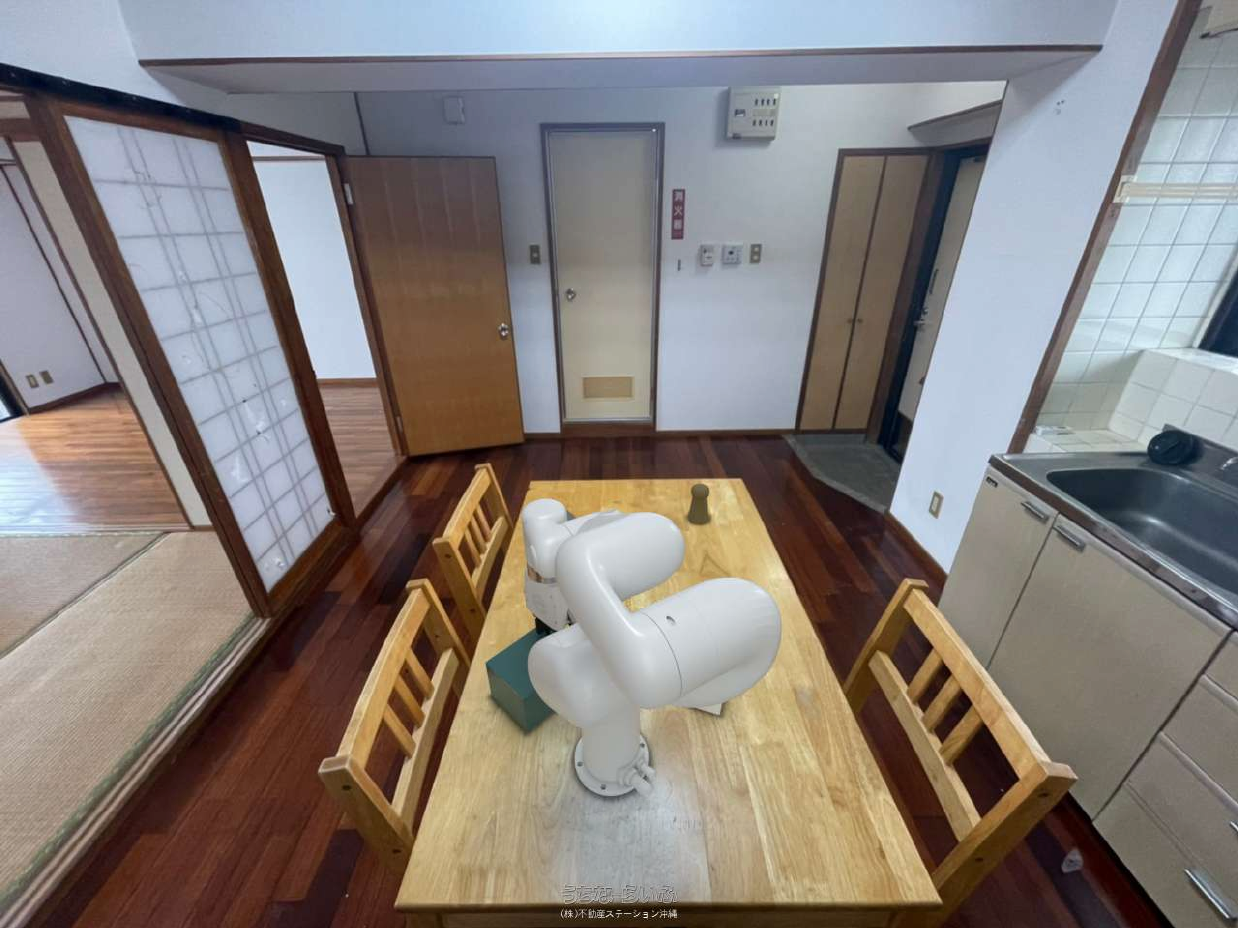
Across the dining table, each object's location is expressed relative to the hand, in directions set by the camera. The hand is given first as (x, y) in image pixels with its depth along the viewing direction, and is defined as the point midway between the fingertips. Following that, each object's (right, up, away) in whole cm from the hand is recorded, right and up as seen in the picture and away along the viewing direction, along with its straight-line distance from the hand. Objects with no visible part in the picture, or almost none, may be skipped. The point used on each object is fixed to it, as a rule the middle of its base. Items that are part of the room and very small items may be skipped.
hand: (555, 638), depth 99 cm
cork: (+36, +17, +53) cm, 66 cm away
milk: (+29, -11, -1) cm, 31 cm away
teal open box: (-4, -10, +1) cm, 11 cm away
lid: (-3, -3, -3) cm, 5 cm away
